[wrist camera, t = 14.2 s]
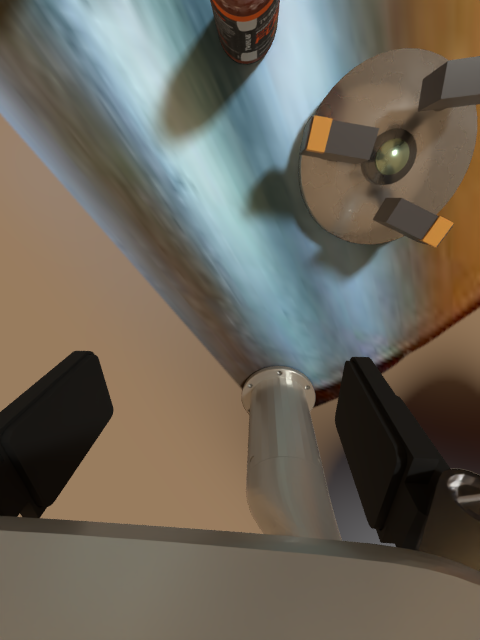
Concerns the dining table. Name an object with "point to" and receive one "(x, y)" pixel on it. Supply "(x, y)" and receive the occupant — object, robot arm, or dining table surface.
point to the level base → (388, 111)
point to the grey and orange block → (451, 85)
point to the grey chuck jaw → (413, 221)
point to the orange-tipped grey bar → (338, 140)
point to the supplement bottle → (246, 27)
